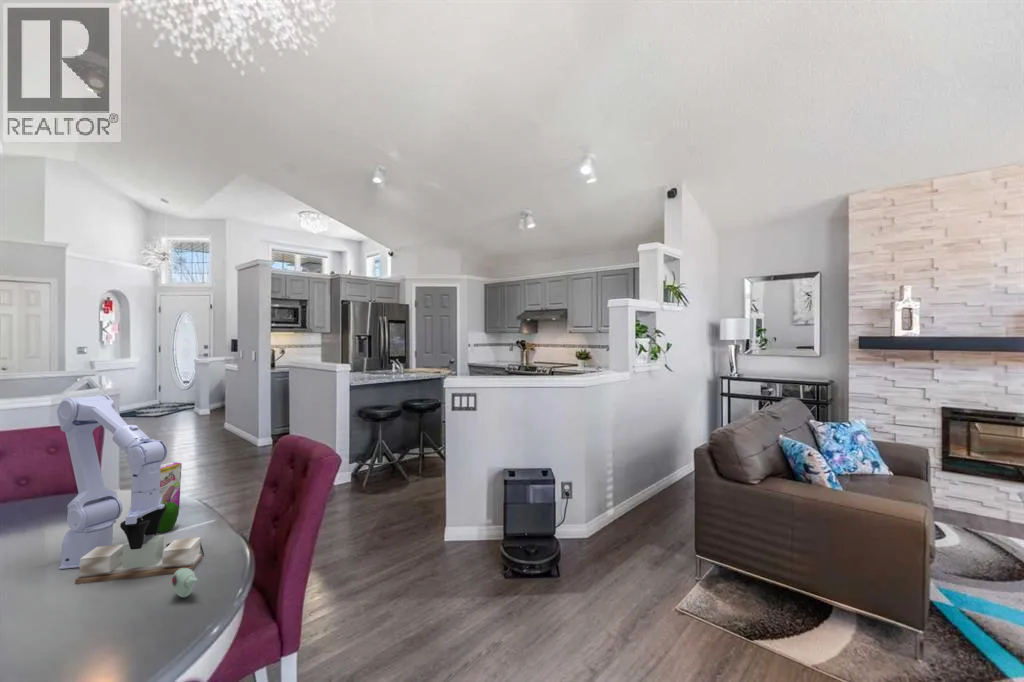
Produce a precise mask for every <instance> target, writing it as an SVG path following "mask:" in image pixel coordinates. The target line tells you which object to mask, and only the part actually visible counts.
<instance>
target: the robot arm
mask: <svg viewBox="0 0 1024 682" xmlns="http://www.w3.org/2000/svg"><path fill="white" fill-rule="evenodd" d="M115 406H116V405H115V401H114V400H113V399H112V398H111V397H110V396H109V395H107V394H102V395H94V396H82V397H65V398H64V399H62V401H61V402H60V403H59V405H58V407H57V409H56V413H57V419H58V423H59V426H60V427H59V428H60V431H62V432H64V433H65V437H66V441H67V446H68V451H69V455H70V459H71V464H72V470H73V474H74V478H75V484H76V487H77V492H78V494H76V496H75V497H74V498H73V499H72V500H71V501H70V502H69V503H68V504H67V517H66V521H67V526H68V528H69V529H68V531H66V533H65V534H64V536H63V539H62V543H61V556H60V557H61V558H60V559H61V563H60V566H59V567H58V569H59V570H63V569H64V570H65V569H73V568H74V569H75V568H80V558H82V557H83V556H85V555H86V554H88V553H89V552H90V551H92V550H93V549H95V548H96V547H99V546H110V545H113V537H114V536H113V535H114V533H113V532H114V524H116V523H117V520H118V519H119V518H120V517H121V515H122V513H123V503H122V501H121V499H119V497H118V495H117V491H115V490H114V489H111V488H109V487H106V486H105V483H104V478H103V474H102V470H101V464H100V460H99V456H98V451H97V448H96V444H95V443H96V441H95V437H94V435H93V433H94V430H95V429H97V428H98V427H100V426H102V427H103V428H104V429H106V430H107V431H109V432H110V433H111V434H113V435H112V442H114V443H115V444H116V445H117V446H118V447H119V448H120V449H121V450H122V451H123V452H124V453H126V456H125V458H126V461H127V463H128V467H129V473H130V474H131V490H130V493H131V494H130V508H129V510H128V513H127V515H126V516H125V520H123V521H121V523H120V525H119V527H120V529H121V530H122V532H124V534H125V536H126V539H127V541H128V542H129V546H130V549H131V550H133V549H141V548H142V545H143V541H144V535H154V534H155V536H157V534H158V532H157V531H158V528H159V524H160V521H161V519H162V516H163V514H164V513H165V511H166V509H167V506H164V505H165V504H162V497H160V498H159V495H160V471H161V465H162V462H163V461H165V459H166V458H167V455H168V449H167V446H166V444H165V443H164V441H163V440H160V439H158V440H157V439H154V438H153V439H151V438H150V437H149V435H147V434H146V433H145V432H144V431H143V430H141V429H140V428H139V426H138V425H136V424H128V423H127V422H126V421H125V420H124V419H123V418H122V416H121V415H120V414H119V413H118V412H117V411H116V410H115ZM141 517H142V519H141Z"/></svg>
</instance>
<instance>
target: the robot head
mask: <svg viewBox="0 0 1024 682" xmlns="http://www.w3.org/2000/svg"><path fill="white" fill-rule="evenodd" d="M172 575H173V576H172V577H171V578H172V579H171V583H172V584H171V585H172V589H173V591H174V593H175V594H176V595H177V596H179V597H180V598H187V597H188V596H190V594H191V593H192V590H193V589H194V585H195V584H196V583H197V582H198V580H199V579H198V578H197V577H196V573H195V572H194V571H193V570H191V569H188V568H181V569H179V570H177V571H176V572H175V574H172Z"/></svg>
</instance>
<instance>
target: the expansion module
mask: <svg viewBox="0 0 1024 682" xmlns="http://www.w3.org/2000/svg"><path fill="white" fill-rule="evenodd" d="M164 538H165V535H164V534H159V535H157V534H156V536H155V534H154V535H144V541H143V545H142V548H141V549H133V550H131V549H130V546H129V542H128V540H127V541H126V542H125V543H122V544H123V561H122V569H126V568H135V567H145V566H154V565H156V564H157V563H158V562H159V561H160V560H161V559H162V558H163V550H164V544H165V542H164V541H165V539H164Z"/></svg>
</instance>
